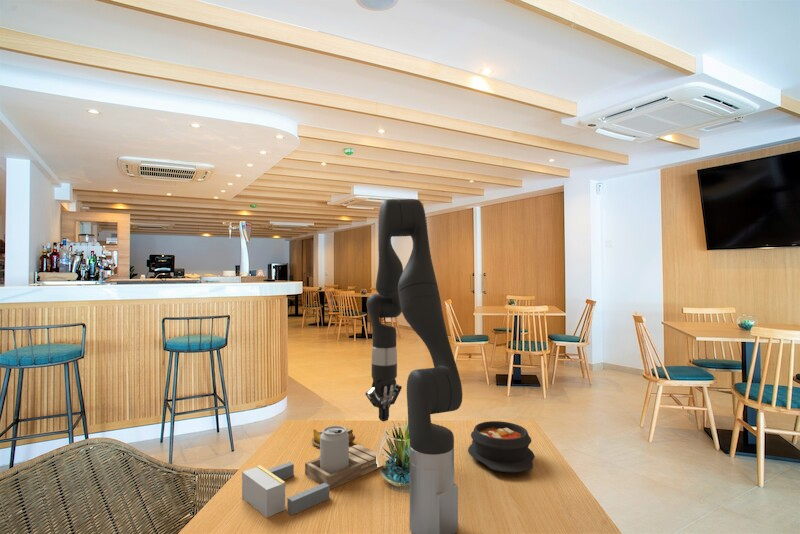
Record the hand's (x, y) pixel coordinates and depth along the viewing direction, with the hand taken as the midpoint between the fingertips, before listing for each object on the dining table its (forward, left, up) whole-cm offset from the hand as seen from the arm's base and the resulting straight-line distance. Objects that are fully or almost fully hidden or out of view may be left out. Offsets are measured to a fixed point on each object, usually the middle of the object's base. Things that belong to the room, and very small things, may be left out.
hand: (383, 420), depth 127 cm
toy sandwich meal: (+18, +5, -10) cm, 21 cm away
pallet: (0, +15, -10) cm, 18 cm away
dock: (0, +33, -10) cm, 34 cm away
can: (0, +18, -10) cm, 21 cm away
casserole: (-26, -22, -10) cm, 35 cm away
